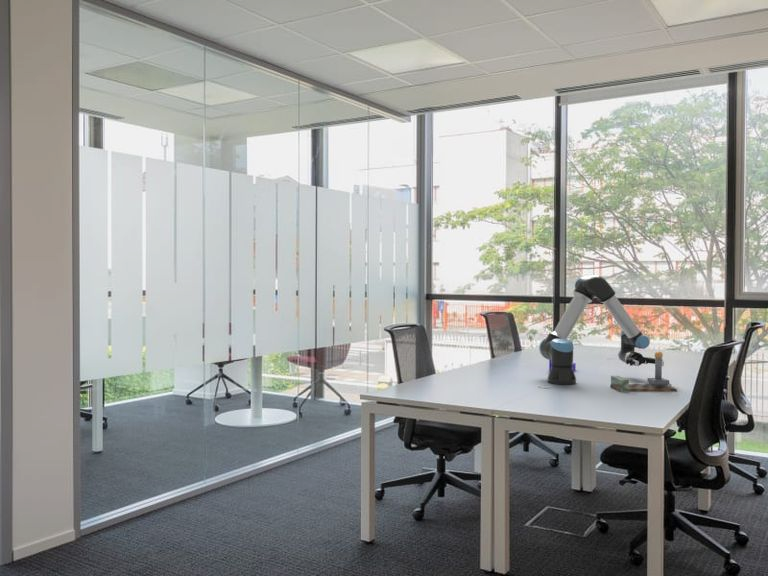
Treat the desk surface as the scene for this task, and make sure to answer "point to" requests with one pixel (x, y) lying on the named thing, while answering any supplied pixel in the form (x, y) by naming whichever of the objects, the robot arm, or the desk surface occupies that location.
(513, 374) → the desk surface
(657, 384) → the lever
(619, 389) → the track bed
